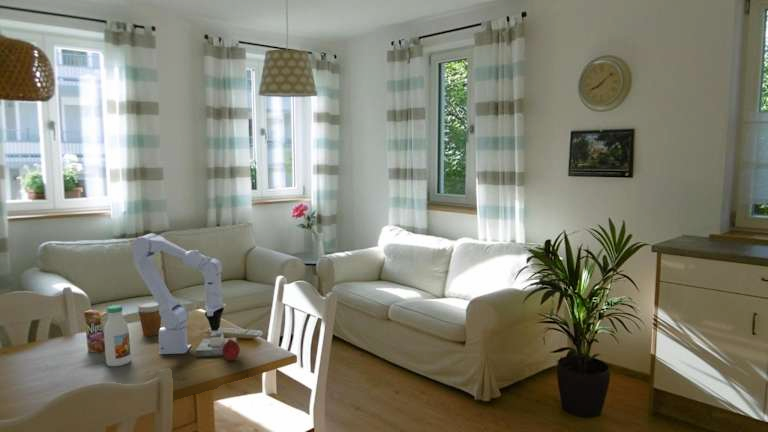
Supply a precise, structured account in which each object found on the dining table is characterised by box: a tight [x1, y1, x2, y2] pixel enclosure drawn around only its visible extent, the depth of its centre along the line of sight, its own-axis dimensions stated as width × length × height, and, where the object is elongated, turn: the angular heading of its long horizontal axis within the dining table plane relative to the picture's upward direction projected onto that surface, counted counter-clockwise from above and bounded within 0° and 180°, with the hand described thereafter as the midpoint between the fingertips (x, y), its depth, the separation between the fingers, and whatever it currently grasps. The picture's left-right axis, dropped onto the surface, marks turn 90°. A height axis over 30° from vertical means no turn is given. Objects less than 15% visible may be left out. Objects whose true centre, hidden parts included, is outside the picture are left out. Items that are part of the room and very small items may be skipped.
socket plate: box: [194, 337, 237, 358], centre depth 203 cm, size 12×12×2 cm
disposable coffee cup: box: [136, 300, 162, 337], centre depth 223 cm, size 10×10×12 cm
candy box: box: [83, 308, 108, 355], centre depth 203 cm, size 9×4×15 cm, turn 69°
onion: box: [222, 337, 241, 362], centre depth 193 cm, size 6×6×8 cm
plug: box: [209, 331, 224, 347], centre depth 203 cm, size 4×4×6 cm
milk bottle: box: [104, 304, 132, 367], centre depth 192 cm, size 8×8×20 cm
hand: (215, 329), depth 202 cm, fingers closed
